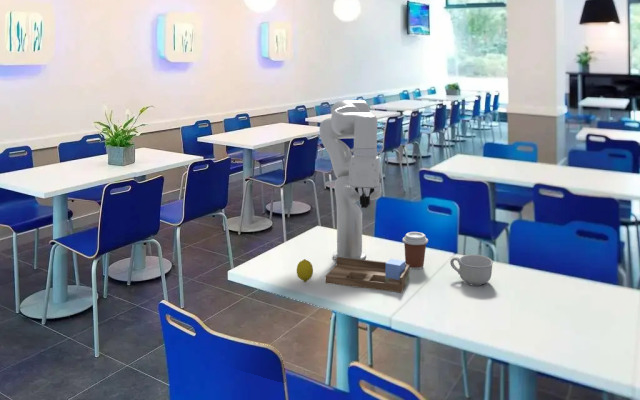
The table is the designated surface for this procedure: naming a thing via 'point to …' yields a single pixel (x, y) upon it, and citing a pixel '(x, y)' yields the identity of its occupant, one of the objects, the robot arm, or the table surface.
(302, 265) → the lemon
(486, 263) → the teacup
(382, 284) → the wooden rimmed tray
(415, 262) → the coffee cup
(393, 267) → the blue block
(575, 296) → the table surface
